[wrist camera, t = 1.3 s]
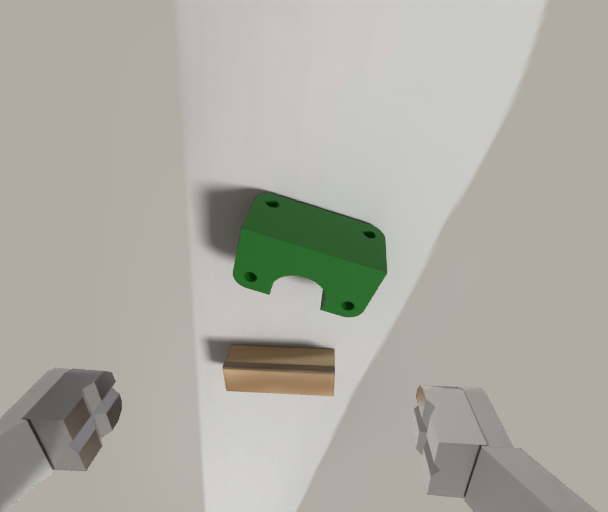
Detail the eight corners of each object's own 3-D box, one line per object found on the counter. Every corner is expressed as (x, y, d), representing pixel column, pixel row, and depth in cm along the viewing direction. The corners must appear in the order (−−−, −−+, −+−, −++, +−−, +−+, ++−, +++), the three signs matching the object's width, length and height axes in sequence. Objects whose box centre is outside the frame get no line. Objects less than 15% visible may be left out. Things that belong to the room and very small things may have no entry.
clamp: (275, 227, 36) (214, 271, 29) (289, 177, 32) (222, 216, 25) (377, 290, 33) (334, 356, 26) (405, 244, 29) (364, 307, 23)
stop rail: (231, 343, 37) (222, 367, 34) (334, 347, 37) (334, 372, 34) (234, 365, 39) (226, 390, 36) (333, 370, 38) (333, 396, 35)
